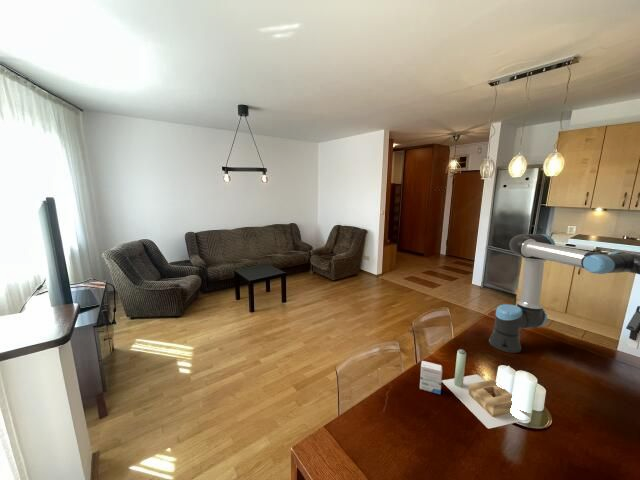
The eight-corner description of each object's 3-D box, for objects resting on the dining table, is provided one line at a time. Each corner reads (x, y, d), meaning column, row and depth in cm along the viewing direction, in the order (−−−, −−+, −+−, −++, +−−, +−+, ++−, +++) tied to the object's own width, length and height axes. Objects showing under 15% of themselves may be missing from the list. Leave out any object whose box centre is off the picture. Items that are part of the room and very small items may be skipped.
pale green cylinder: (452, 382, 120) (455, 349, 117) (458, 381, 121) (462, 348, 118) (457, 387, 117) (461, 353, 114) (464, 386, 117) (468, 352, 115)
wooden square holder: (468, 394, 113) (469, 384, 112) (491, 389, 116) (492, 379, 115) (492, 416, 101) (493, 405, 101) (517, 411, 104) (518, 400, 103)
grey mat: (440, 381, 121) (441, 380, 121) (477, 375, 126) (477, 374, 126) (488, 430, 96) (488, 428, 96) (531, 420, 101) (531, 418, 101)
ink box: (440, 388, 117) (442, 364, 115) (440, 396, 113) (442, 371, 111) (420, 382, 121) (421, 359, 119) (419, 389, 116) (420, 366, 114)
